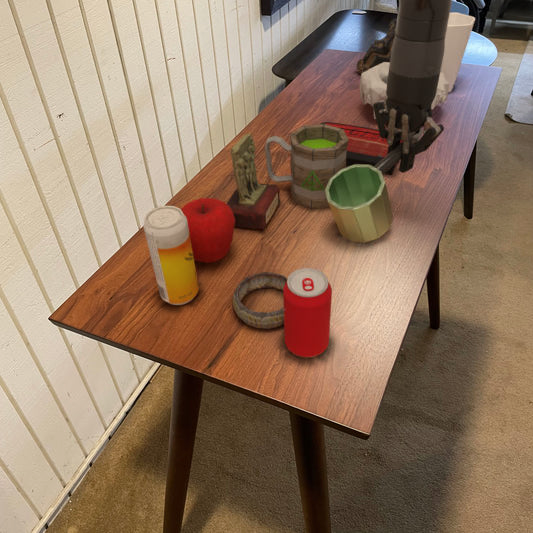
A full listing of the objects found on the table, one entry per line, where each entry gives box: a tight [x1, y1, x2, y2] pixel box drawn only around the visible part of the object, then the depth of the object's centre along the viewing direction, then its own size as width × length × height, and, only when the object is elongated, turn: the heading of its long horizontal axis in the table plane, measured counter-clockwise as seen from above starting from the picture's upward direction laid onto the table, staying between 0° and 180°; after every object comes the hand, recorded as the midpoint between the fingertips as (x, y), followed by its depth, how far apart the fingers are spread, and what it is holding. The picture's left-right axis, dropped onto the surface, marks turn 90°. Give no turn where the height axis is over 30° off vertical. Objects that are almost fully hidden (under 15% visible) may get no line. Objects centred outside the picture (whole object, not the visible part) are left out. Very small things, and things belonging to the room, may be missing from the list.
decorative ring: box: [232, 271, 288, 330], centre depth 77 cm, size 10×3×10 cm
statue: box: [355, 18, 397, 74], centre depth 139 cm, size 6×12×15 cm, turn 67°
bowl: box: [358, 62, 449, 120], centre depth 122 cm, size 21×20×10 cm
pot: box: [325, 141, 412, 243], centre depth 88 cm, size 18×10×9 cm, turn 125°
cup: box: [441, 12, 476, 93], centre depth 130 cm, size 11×10×17 cm
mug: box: [264, 123, 349, 210], centre depth 97 cm, size 16×11×12 cm
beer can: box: [142, 205, 200, 306], centre depth 76 cm, size 6×6×15 cm
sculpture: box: [226, 133, 281, 230], centre depth 91 cm, size 10×8×15 cm
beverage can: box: [282, 267, 333, 358], centre depth 68 cm, size 6×6×12 cm
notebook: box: [320, 121, 403, 175], centre depth 113 cm, size 16×2×21 cm
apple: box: [180, 197, 236, 264], centre depth 84 cm, size 10×10×11 cm
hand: (398, 167), depth 88 cm, fingers closed on pot, 2 cm apart
